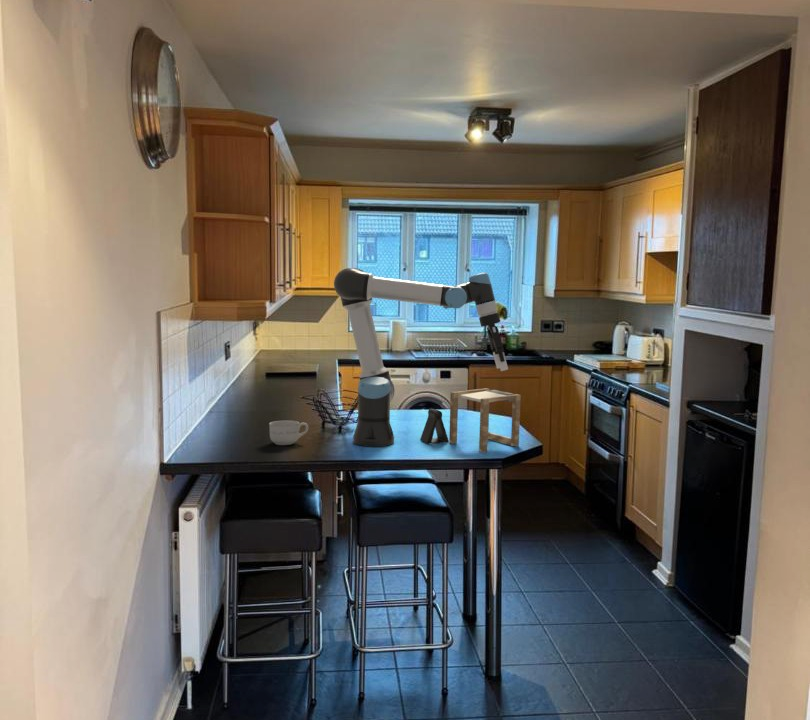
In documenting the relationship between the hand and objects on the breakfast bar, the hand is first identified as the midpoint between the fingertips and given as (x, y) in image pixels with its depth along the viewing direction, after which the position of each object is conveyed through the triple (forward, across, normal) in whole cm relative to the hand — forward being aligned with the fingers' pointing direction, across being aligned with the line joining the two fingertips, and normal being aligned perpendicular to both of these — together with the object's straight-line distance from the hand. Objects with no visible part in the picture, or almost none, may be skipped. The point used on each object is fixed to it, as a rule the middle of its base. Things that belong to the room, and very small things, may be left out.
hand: (502, 369), depth 271 cm
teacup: (+6, -13, +83) cm, 84 cm away
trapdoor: (+10, -8, +9) cm, 15 cm away
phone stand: (+20, -4, +32) cm, 37 cm away
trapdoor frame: (+24, -8, +14) cm, 29 cm away
